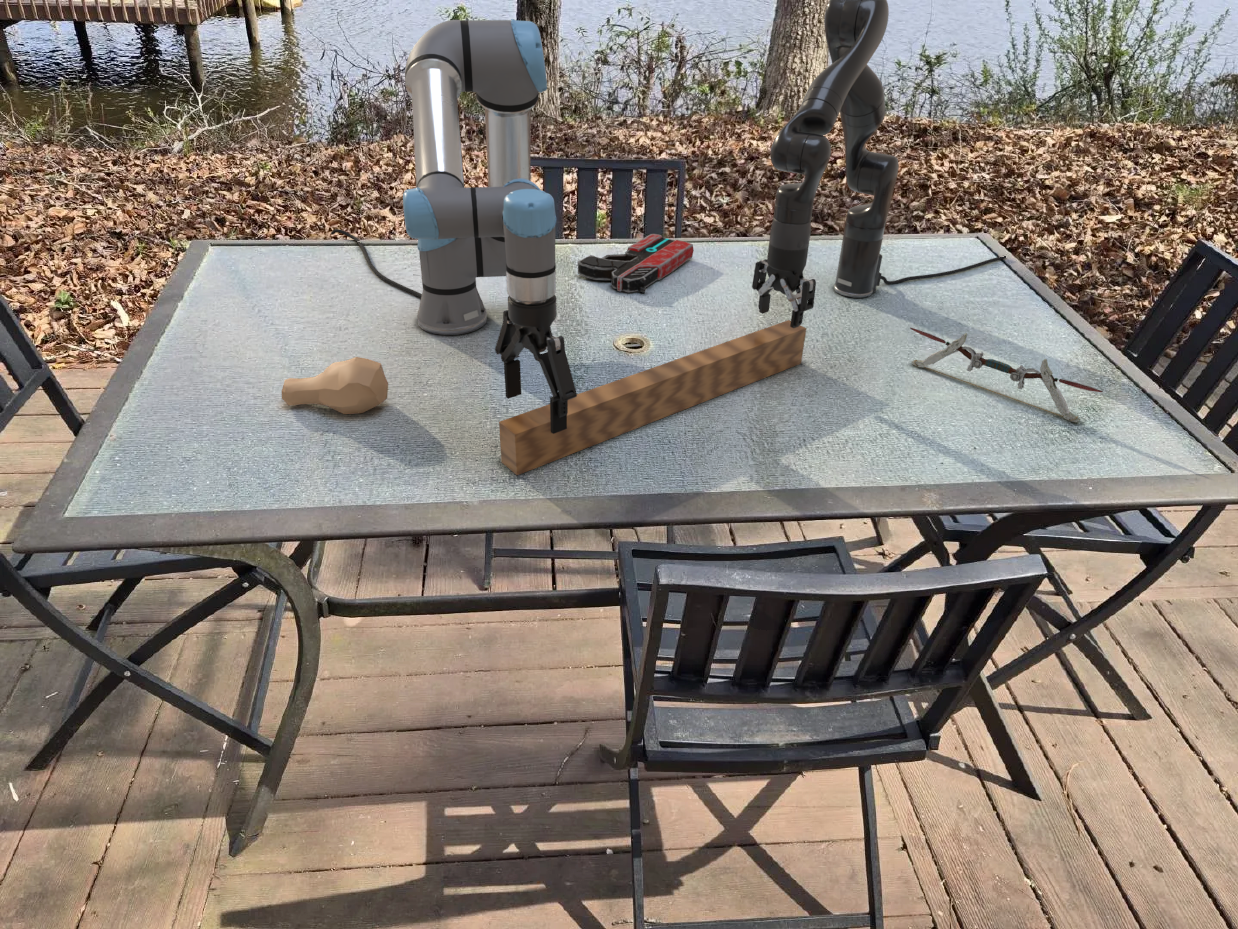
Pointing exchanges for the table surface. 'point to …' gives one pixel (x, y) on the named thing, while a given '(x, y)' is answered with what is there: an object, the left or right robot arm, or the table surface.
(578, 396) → the post
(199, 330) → the table surface
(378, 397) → the squash
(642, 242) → the gun
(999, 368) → the bow
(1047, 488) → the table surface
